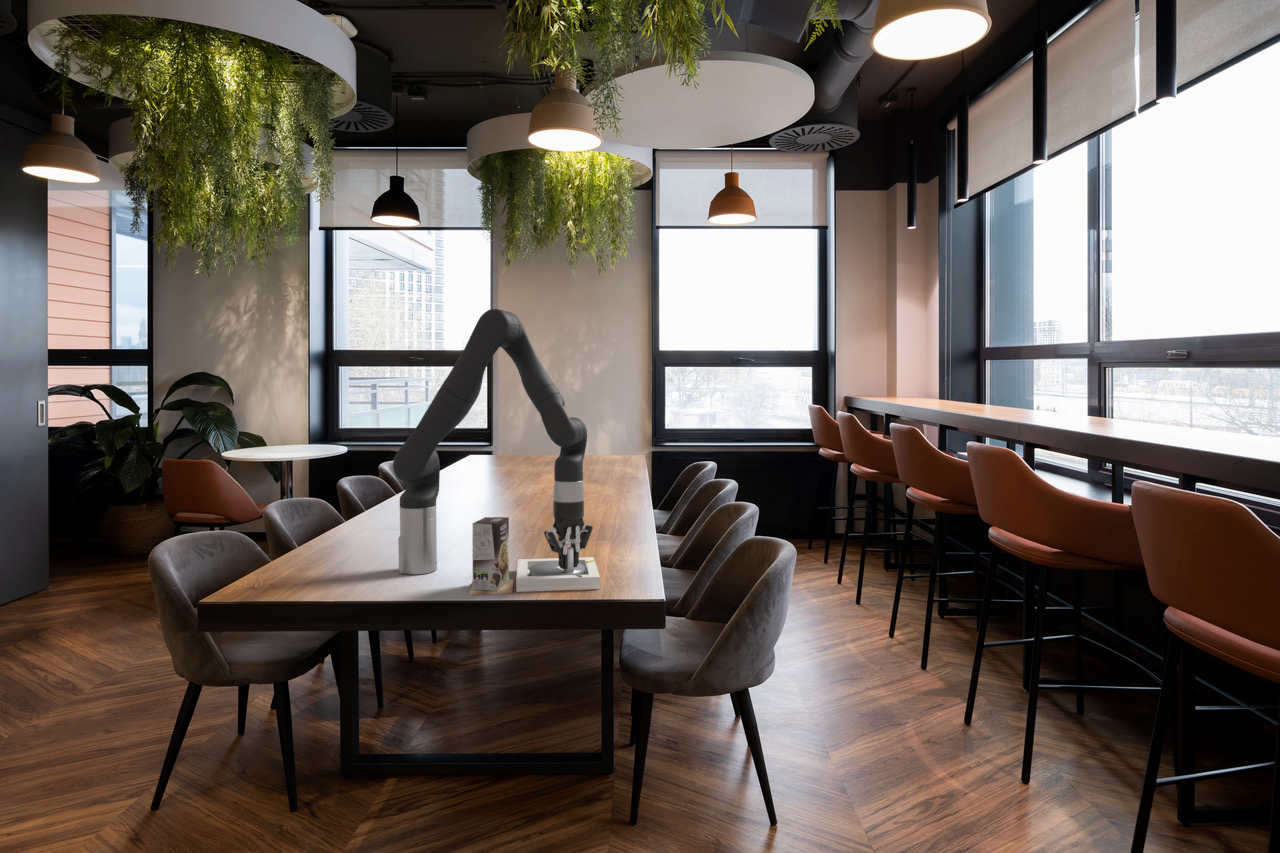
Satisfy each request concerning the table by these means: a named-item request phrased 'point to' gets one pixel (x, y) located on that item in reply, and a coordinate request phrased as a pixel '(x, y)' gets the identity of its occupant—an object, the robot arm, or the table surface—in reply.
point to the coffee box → (490, 553)
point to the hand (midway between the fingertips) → (568, 567)
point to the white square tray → (556, 577)
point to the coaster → (503, 590)
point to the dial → (557, 567)
